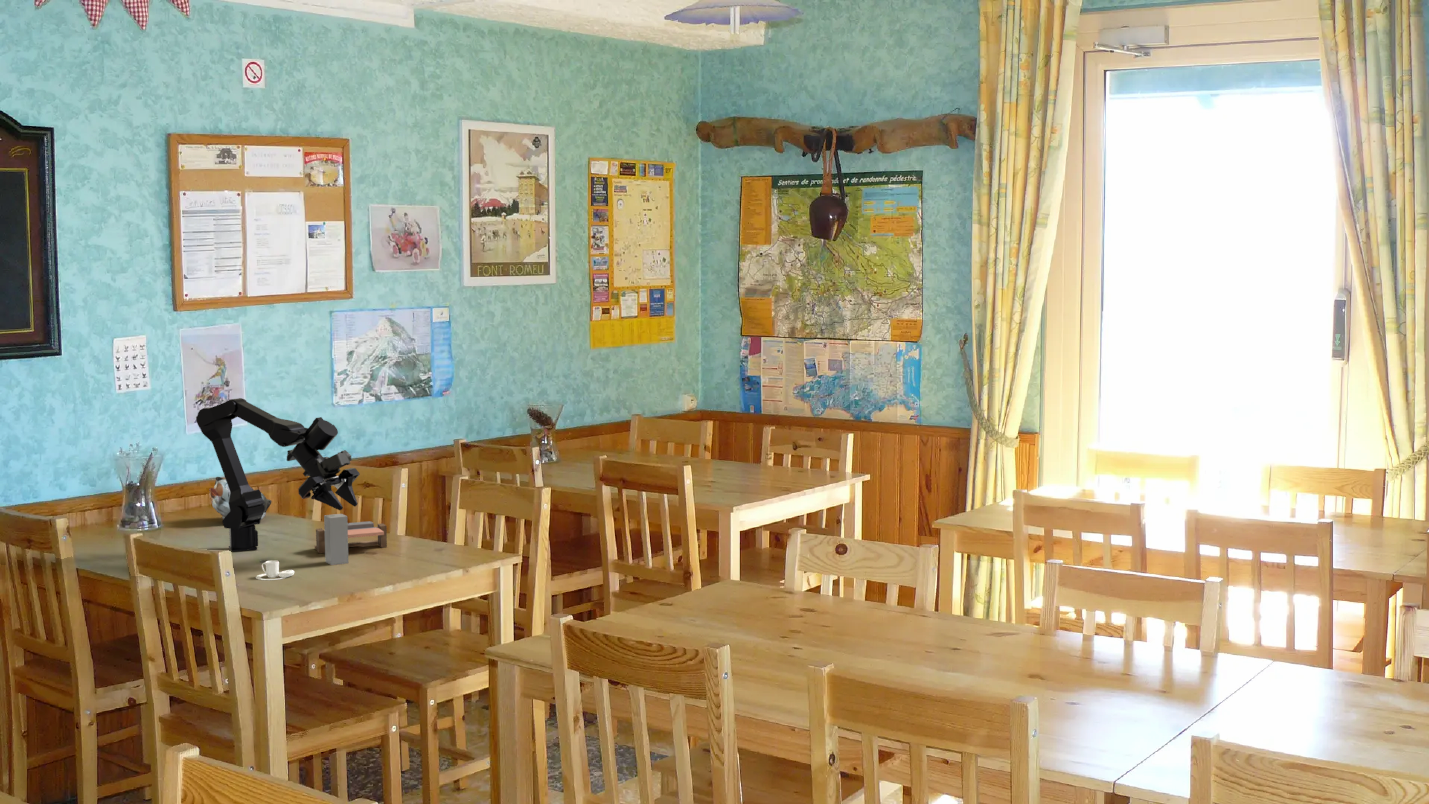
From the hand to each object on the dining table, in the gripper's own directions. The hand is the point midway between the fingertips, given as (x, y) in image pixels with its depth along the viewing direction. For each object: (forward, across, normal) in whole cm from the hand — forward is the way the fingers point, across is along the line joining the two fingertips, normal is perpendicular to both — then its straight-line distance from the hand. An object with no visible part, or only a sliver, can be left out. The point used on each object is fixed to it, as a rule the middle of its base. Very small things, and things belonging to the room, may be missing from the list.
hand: (349, 507), depth 343 cm
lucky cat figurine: (-35, +32, +54) cm, 72 cm away
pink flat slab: (+3, +10, +12) cm, 16 cm away
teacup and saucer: (+8, -25, +12) cm, 29 cm away
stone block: (+9, -4, +10) cm, 14 cm away
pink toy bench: (+3, +12, +16) cm, 20 cm away
